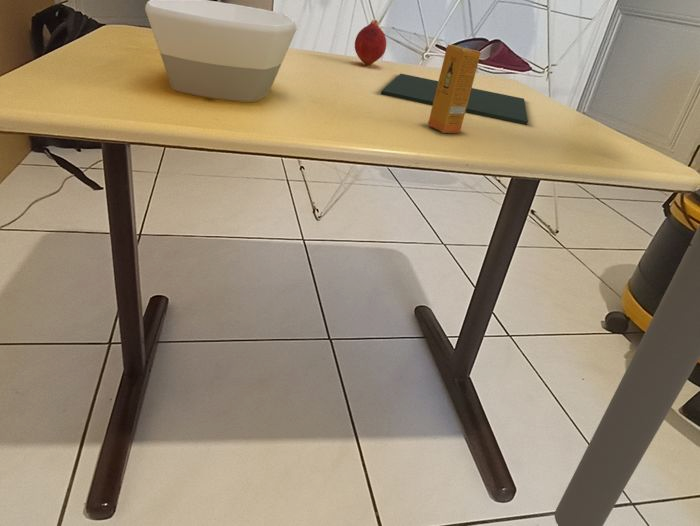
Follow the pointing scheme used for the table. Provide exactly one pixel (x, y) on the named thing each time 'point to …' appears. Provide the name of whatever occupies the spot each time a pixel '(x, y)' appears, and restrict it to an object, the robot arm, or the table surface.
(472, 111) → the mat
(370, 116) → the table surface
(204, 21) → the bowl
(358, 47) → the onion
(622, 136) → the table surface
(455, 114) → the supplement box
